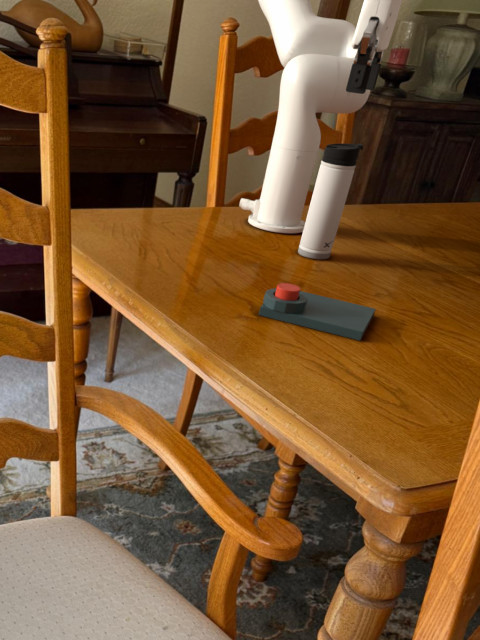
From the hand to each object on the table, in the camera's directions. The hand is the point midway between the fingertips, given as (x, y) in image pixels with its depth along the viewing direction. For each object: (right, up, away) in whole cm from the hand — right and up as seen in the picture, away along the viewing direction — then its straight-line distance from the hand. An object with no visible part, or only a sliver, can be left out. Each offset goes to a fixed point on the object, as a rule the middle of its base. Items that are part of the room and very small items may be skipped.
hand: (360, 90), depth 126 cm
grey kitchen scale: (-11, -42, -10) cm, 45 cm away
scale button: (-16, -40, -12) cm, 45 cm away
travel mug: (-2, -22, +18) cm, 28 cm away
